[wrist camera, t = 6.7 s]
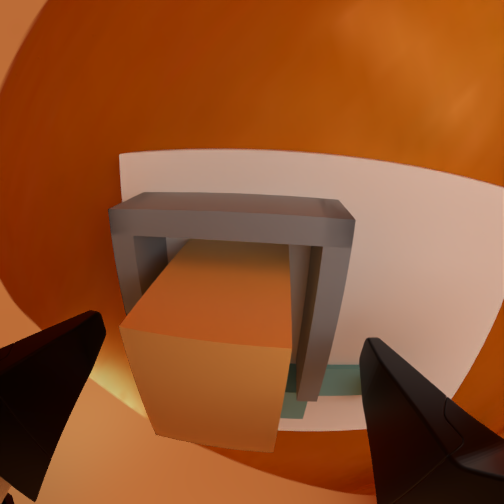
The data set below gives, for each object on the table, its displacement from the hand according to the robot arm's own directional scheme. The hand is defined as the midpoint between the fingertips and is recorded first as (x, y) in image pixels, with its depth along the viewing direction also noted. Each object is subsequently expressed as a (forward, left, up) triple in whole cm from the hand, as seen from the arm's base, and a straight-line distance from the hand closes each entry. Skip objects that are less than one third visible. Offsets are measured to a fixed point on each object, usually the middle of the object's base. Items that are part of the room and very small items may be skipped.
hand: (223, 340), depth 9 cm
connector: (-3, 0, -3) cm, 4 cm away
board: (-2, -4, -4) cm, 6 cm away
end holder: (0, 0, -3) cm, 3 cm away
